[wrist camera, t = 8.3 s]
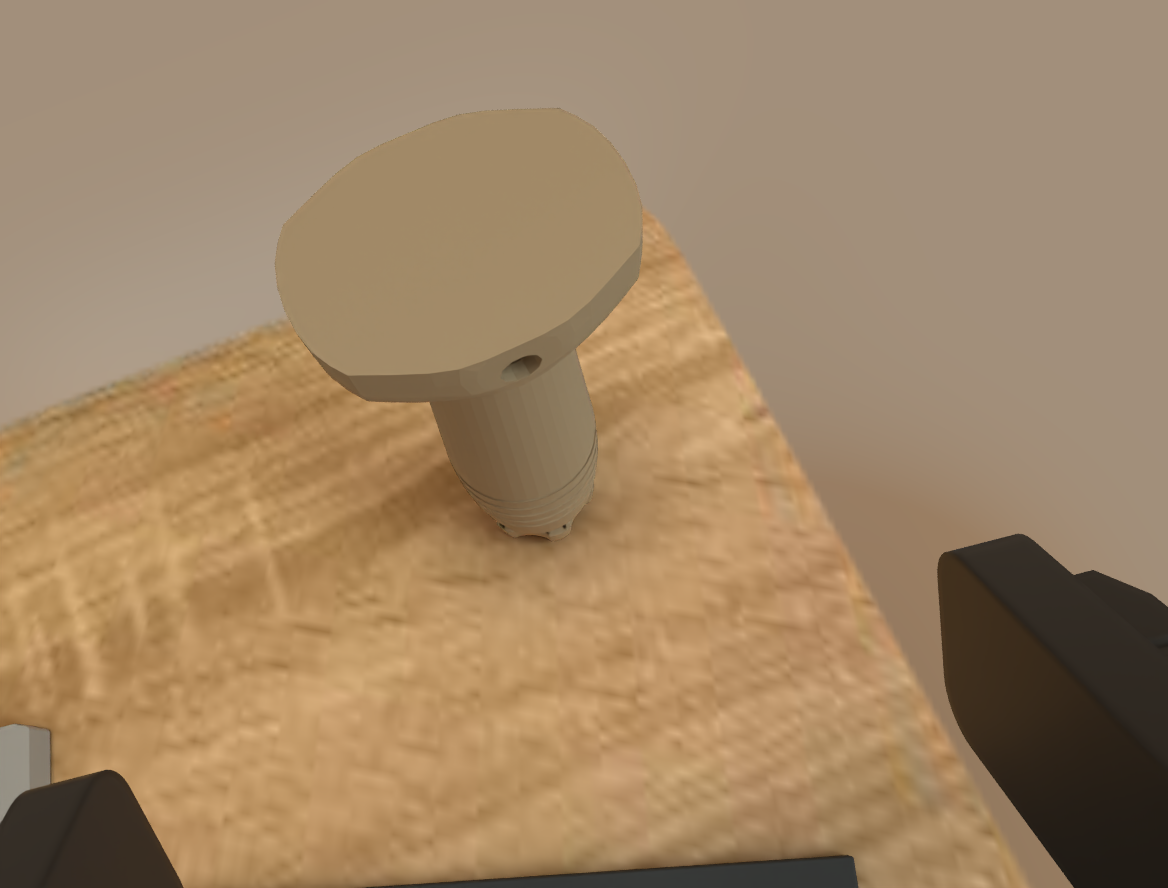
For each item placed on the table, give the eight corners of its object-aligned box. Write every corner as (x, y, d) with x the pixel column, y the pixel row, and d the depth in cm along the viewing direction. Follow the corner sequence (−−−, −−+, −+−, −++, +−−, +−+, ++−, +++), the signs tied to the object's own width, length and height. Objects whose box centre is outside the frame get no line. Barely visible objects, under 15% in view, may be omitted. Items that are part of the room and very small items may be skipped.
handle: (420, 476, 31) (240, 203, 17) (598, 394, 32) (566, 66, 18) (479, 609, 29) (333, 429, 15) (666, 519, 30) (689, 268, 16)
